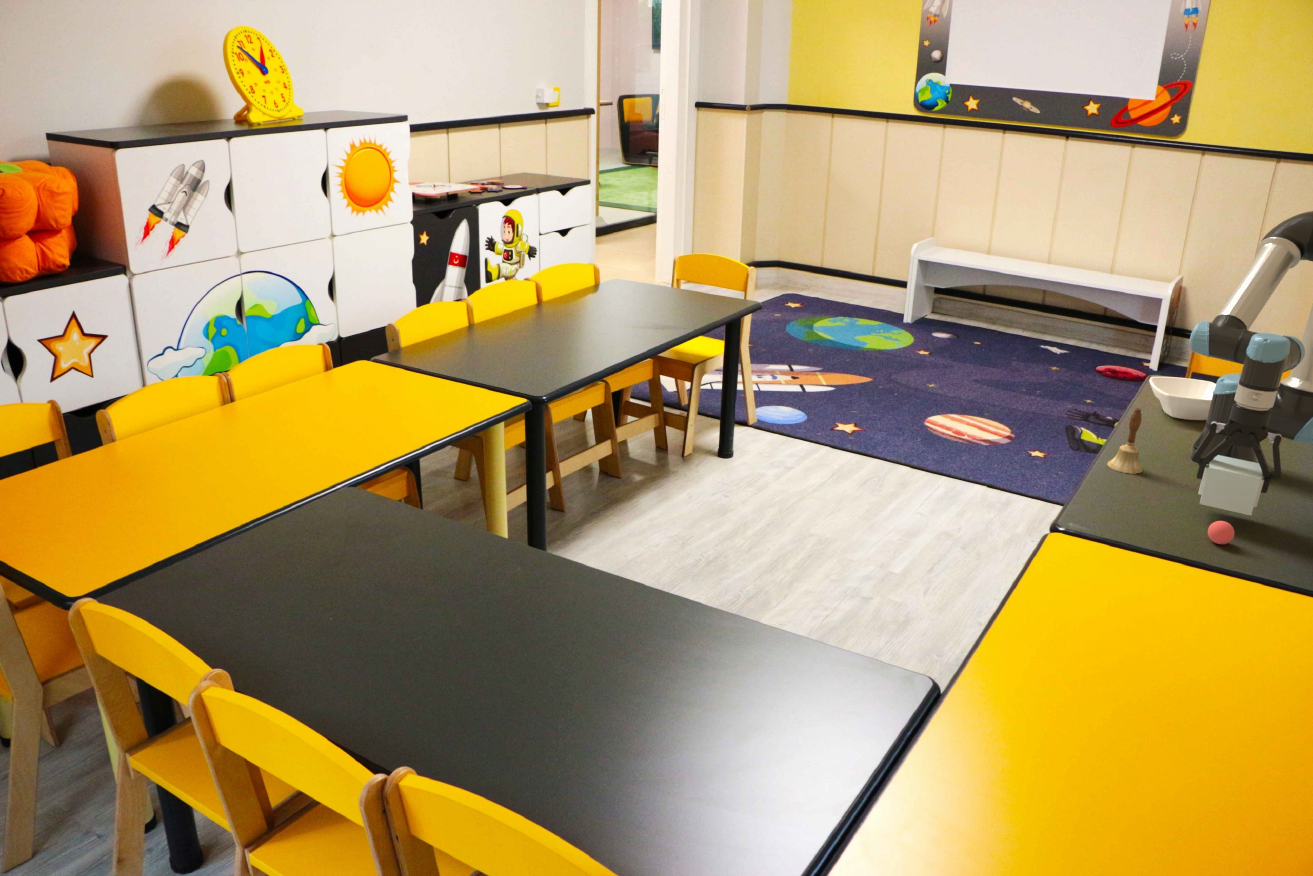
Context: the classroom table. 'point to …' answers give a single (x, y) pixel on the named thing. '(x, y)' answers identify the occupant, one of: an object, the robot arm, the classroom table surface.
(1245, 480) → the rounded gray box
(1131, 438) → the hand bell
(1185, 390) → the bowl
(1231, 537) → the ball
